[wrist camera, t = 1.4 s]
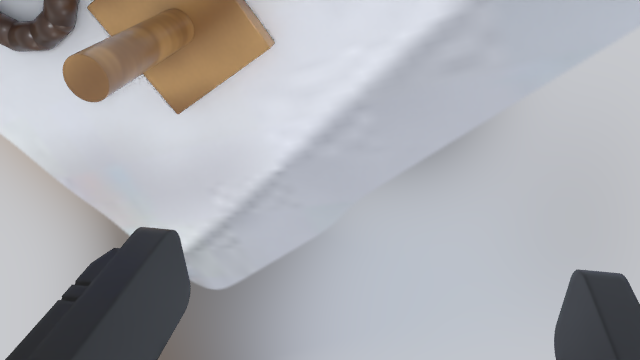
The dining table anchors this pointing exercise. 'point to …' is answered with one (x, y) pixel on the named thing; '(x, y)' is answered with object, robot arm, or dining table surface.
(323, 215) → the dining table surface
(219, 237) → the dining table surface
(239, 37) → the post
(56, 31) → the ring
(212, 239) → the dining table surface
